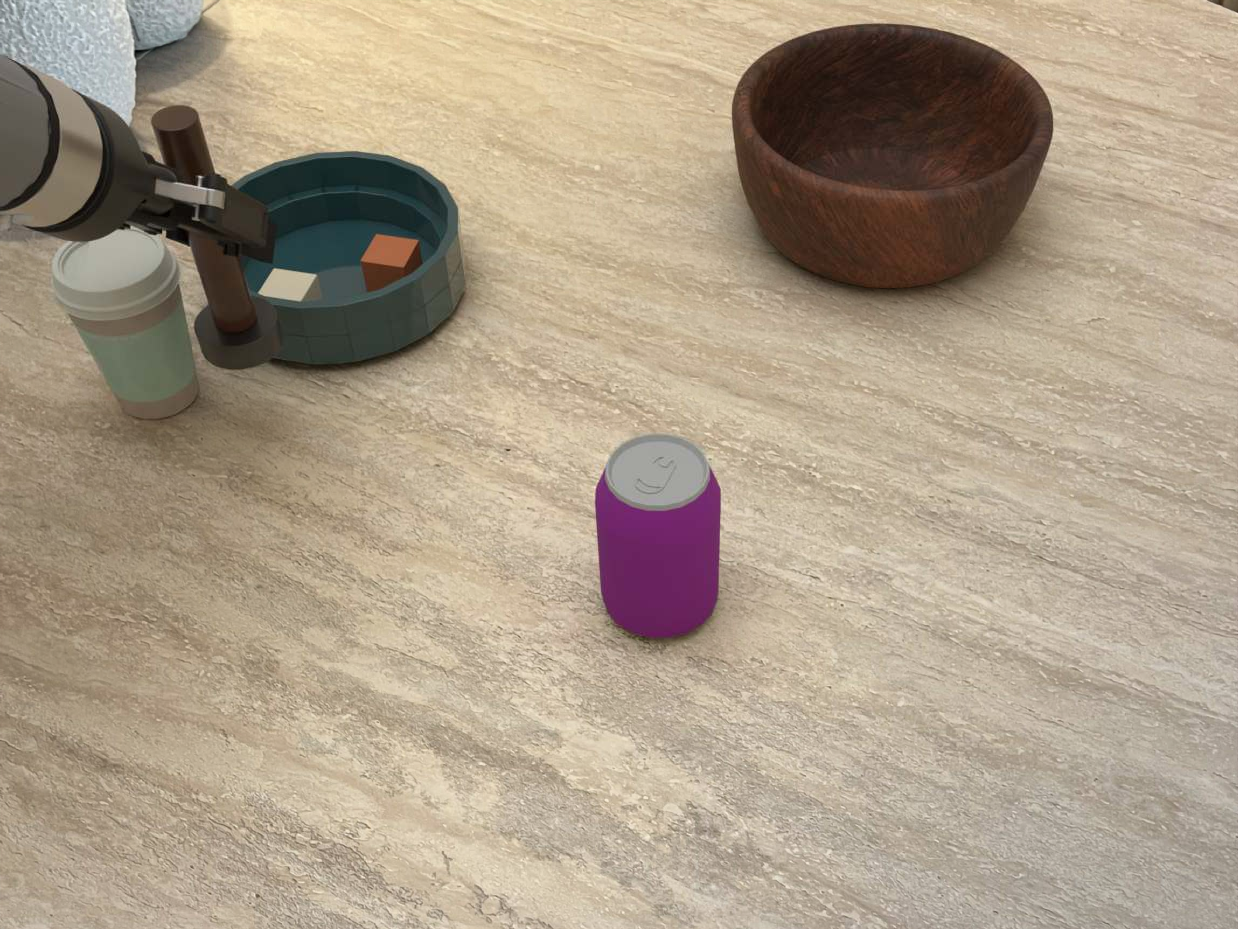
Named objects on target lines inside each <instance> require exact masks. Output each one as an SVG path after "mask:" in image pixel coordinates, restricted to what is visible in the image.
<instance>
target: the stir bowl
mask: <svg viewBox="0 0 1238 929" xmlns="http://www.w3.org/2000/svg"><path fill="white" fill-rule="evenodd" d="M230 185H231V186H232V187H234V188H236V189H238V190H239V191H241V192H243V193H245V194H247V195H248V196H250V197H252V198H254V199H255V200H257V201H259V202H261V203H263V204H264V205H266V206H268V207H269V208H268V219H270V220H272V221H274V222H276V223H277V229H276V238H275V248H274V257H273V264H270V263H263V262H260V261H257V260H255V259H252V258H250V257H247V256H245V255H242V254H241V257H240V260H241V264H242V267H243V271H244V274H245V278H246V281H247V285H248V288H249V292H250V295H252V296H257V297H261V298H263V299H265V300H267V301H269V302H270V303H271V304H272V305H273V306H274V307H275V309H276V311H277V314H278V317H279V321H280V325H281V328H282V332H283V337H284V340H283V345H282V347H281V349H280V351H279V352H278V353H277V354H276V355H275V356H274V357H273V358H272V359H276V360H282V361H289V362H295V363H301V364H308V365H337V364H338V365H339V364H349V363H355V362H356V363H357V362H362V361H366V360H370V359H374V358H379V357H381V356H384V355H387V354H391V353H394V352H397V351H399V350H400V349H403V348H404V347H407V346H409V345H410V344H412V343H414V342H416V341H418V340H420V339H422V338H424V337H426V336H427V335H429V334H431V333H432V332H433V331H434V330H435V329H436V328H437V327H438V326H439V325H441V323H443V322H444V321H445V320H446V319H447V318H448V317H449V316H450V315H451V314H452V313H453V312H454V311H455V309H456V307H457V305H458V304H459V301H460V299H461V297H462V295H463V293H464V291H465V289H466V286H467V261H466V255H465V247H464V240H463V233H462V227H461V225H462V224H461V219H460V212H459V207H458V204H457V203H456V201H455V199H454V197H453V196H452V193H451V192H450V190H449V189H448V187H447V185H446V184H445V183H444V182H443V181H442V180H440V179H438V178H437V177H436V176H435V175H433V174H432V173H431V172H429V171H428V170H427V169H425V168H424V167H422V166H420V165H417V164H414V163H411V162H409V161H406V160H404V159H401V158H398V157H395V156H392V155H390V154H389V155H388V154H381V153H373V152H367V151H359V150H346V151H326V152H313V153H309V154H305V155H304V154H303V155H300V156H296V157H291V158H287V159H283V160H279V161H275V162H272V163H270V164H267V165H265V166H264V167H261V168H259V169H256V170H255V171H252V172H249V173H247V174H245V175H243V176H242V177H240V178H239V179H238V180H236V181H235V182H234V183H233V184H230ZM376 234H380V235H387V236H394V237H401V238H408V239H415V240H419V244H420V250H421V256H422V262H423V264H422V265H421V266H420V267H419V268H418V269H416V270H415V271H414V272H413V273H412V274H410V275H408V276H406V277H404V278H402V279H400V280H398V281H395V282H393V283H391V284H389V285H387V286H385V287H383V288H381V289H379V290H376V291H372V292H368V293H367V290H366V285H365V281H364V276H363V271H362V266H361V259H362V257H363V256H364V254H365V252H366V250H367V249H368V247H369V245H370V244H371V242H372V240H373V239H374V237H375V235H376ZM274 268H276V269H282V270H289V271H296V272H303V273H309V274H316V275H317V277H318V281H319V285H320V289H321V294H322V298H323V300H317V301H295V300H288V299H281V298H275V297H268V296H263V295H261V294H258V292H259V291H260V289H261V288H262V286H263V284H264V283H265V281H266V280H267V278H268V277H269V275H270V274H271V272H272V270H273V269H274Z"/></svg>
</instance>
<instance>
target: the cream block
mask: <svg viewBox="0 0 1238 929" xmlns="http://www.w3.org/2000/svg"><path fill="white" fill-rule="evenodd" d="M258 294H261V295H263V296H268V297H275V298H281V299H288V300H295V301H317V300H323V298H322V294H321V289H320V285H319V281H318V277H317V275H316V274H309V273H303V272H296V271H289V270H282V269H276V268H274V269H273V270H272V272H271V274H270V275H269V277H268V278H267V280H266V281H265V283H264V284H263V286H262V288H261V289H260V291H259V292H258Z"/></svg>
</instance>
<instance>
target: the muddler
mask: <svg viewBox="0 0 1238 929" xmlns="http://www.w3.org/2000/svg"><path fill="white" fill-rule="evenodd" d="M150 124H151V127H152V130H153V133H154V136H155V140H156V143H157V147H158V149H159V152H160V156H161V158H162V162H163V164H164V165H167V166H169V167H172V168H174V169H177V170H179V171H180V172H181V174H182V177H183V180H184V181H185V182H186V183H189V184H192V185H194V186H195V179H196V176H203V177H204V176H205V174H211V173H216V170H215V167H214V163H213V160H212V156H211V153H210V149H209V145H208V142H207V139H206V135H205V133H204V128H203V125H202V122H201V117H200V115H199V112H198V111H197V110H196V108H193V107H192V106H188V105H183V104H177V105H176V104H174V105H169V106H166V107H163V108H161V109H159V110H157V111H156V112H154V113H153V114H152V116H151V118H150ZM185 231H186V235H187V238H188V241H189V244H190V250H191V254H192V257H193V259H194V263H195V266H196V269H197V273H198V276H199V280H200V282H201V285H202V288H203V291H204V294H205V298H206V300H207V305H206V306H204V307H203V308H202V309H201V310H200V311H199V312H198V314H197V315H196V317H195V319H194V323H193V329H194V333H195V336H196V339H197V343H198V345H199V349H200V352H201V354H202V356H203V358H204V359H205V360H206V361H207V362H208V363H209V364H210V365H212V366H214V367H216V368H220V369H223V370H231V371H240V370H241V371H242V370H248V369H252V368H255V367H258V366H261V365H263V364H266V363H267V362H269V361H271V360H272V359H274V358H273V357H274V356H275V355H276V354H277V353H278V352H279V351H280V349H281V347H282V345H283V340H284V337H283V332H282V328H281V325H280V321H279V317H278V314H277V311H276V309H275V307H274V306H273V305H272V304H271V303H270V302H269V301H267V300H265V299H263V298H261V297H257V296H252V295H250V292H249V288H248V285H247V281H246V278H245V274H244V271H243V267H242V264H241V260H240V258H238V257H231V256H226V255H222V254H223V247H221V246H219V245H217V243H218V240H215V239H212V238H209V237H206V236H204V235H201V234H198V233H195V232H192V231H189V230H186V229H185Z"/></svg>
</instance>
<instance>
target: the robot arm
mask: <svg viewBox="0 0 1238 929" xmlns="http://www.w3.org/2000/svg"><path fill="white" fill-rule="evenodd" d="M231 185H232V184H229V183H228V179H227V178H225V177H223V176H222V175H221V174H219V173H216V172H215V173H211V174H205V176H204V177H203V176H196V179H195V186H194V185H192V184H189V183H186V182H185V181H184V180H183V177H182V174H181V172H180V171H179V170H177V169H174V168H172V167H169V166H167V165H164V163H161V162H159V161H157V160H156V159H155V157H154V156H153V155H152V154H151V153H148V152H146V151H144V150H142V148H141V146H140V144H139V142H138V140H137V137H136V136H135V134H134V132H133V131H132V129H131V128H130V126H129V125H128V123H127V122H126V121H125V120H124V119H123V117H121V116H120V114H118V113H117V112H116V111H115V110H113V109H112V108H111V107H109V106H107V105H106V104H103V103H101V102H99V101H97V100H95V99H94V98H91V97H90V96H87V95H85V94H83V93H81V92H79V91H77V90H76V89H73V88H72V87H70V86H68V85H67V84H66V83H64V82H63V81H61V80H58V79H57V78H54V77H53V76H51V75H49V74H47V73H44V72H43V71H41V70H38V69H37V68H35V67H32V66H31V65H29V64H27V63H24V62H22V61H20V60H18V59H16V58H14V57H11V56H9V55H6V54H1V53H0V232H2V233H6V232H10V231H11V230H12V224H17V225H20V226H22V227H24V228H26V229H29V230H31V231H34V232H37V233H40V234H43V235H48V236H50V237H53V238H57V239H58V240H63V241H66V242H67V241H72V242H89V241H94V240H97V239H100V238H103V237H105V236H107V235H109V234H111V233H113V232H114V231H116V230H117V229H119V230H124V229H130V228H131V226H133V227H135V228H138V229H140V230H142V231H144V232H145V233H148V234H149V235H155V236H156V235H157V236H159V235H163V231H164V232H165V239H167V240H170V241H174V242H176V243H178V244H181V245H184V246H187V247H190V244H189V241H188V238H187V235H186V231H185V229H186V230H189V231H192V232H195V233H198V234H201V235H204V236H206V237H209V238H212V239H215V240H218V243H217V245H219V246H221V247H223V254H222V255H226V256H231V257H238V258H240V257H241V254H242V255H245V256H247V257H250V258H252V259H255V260H257V261H260V262H263V263H270V264H273V257H274V248H275V238H276V229H277V223H276V222H274V221H272V220H270V219H268V208H269V207H268V206H266V205H264V204H263V203H261V202H259V201H257V200H255V199H254V198H252V197H250V196H248V195H247V194H245V193H243V192H241V191H239V190H238V189H236V188H234V187H232V186H231ZM190 248H191V247H190Z"/></svg>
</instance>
